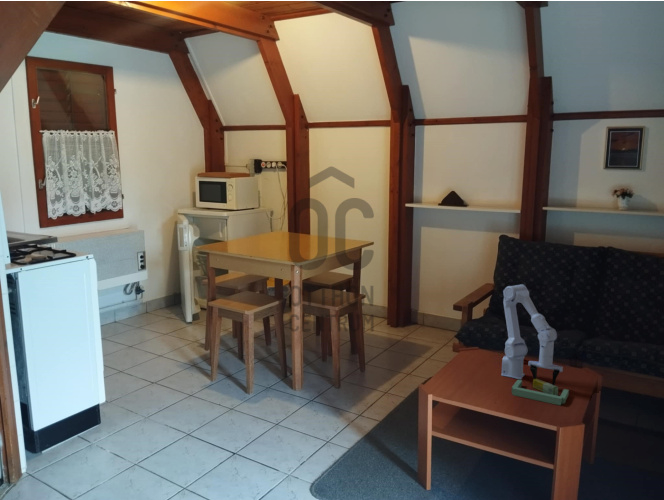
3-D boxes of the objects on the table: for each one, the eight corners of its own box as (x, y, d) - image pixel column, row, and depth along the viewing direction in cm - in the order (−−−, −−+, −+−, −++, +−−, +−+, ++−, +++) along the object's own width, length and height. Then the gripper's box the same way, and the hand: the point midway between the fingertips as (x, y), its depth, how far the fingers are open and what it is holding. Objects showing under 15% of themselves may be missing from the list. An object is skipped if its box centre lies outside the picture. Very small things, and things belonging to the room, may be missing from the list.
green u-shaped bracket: (510, 394, 243) (510, 387, 243) (517, 384, 255) (517, 378, 254) (563, 406, 232) (563, 399, 232) (568, 395, 243) (568, 388, 243)
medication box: (558, 395, 243) (558, 386, 242) (554, 396, 241) (554, 388, 241) (536, 386, 253) (536, 377, 252) (532, 387, 252) (532, 379, 251)
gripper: (564, 355, 249) (562, 384, 251) (531, 349, 257) (529, 377, 259) (562, 359, 243) (559, 389, 245) (528, 353, 251) (526, 382, 253)
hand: (544, 383), depth 252 cm, fingers open, 7 cm apart
